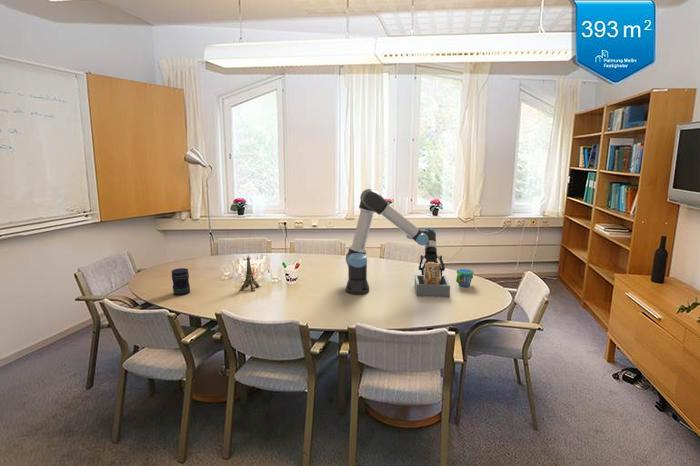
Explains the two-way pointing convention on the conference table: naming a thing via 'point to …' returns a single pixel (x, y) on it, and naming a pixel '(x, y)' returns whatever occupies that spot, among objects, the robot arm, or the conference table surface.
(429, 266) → the candy box
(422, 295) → the bin
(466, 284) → the snack cup
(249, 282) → the eiffel tower
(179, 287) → the storage jar
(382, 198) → the robot arm
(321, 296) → the conference table surface
